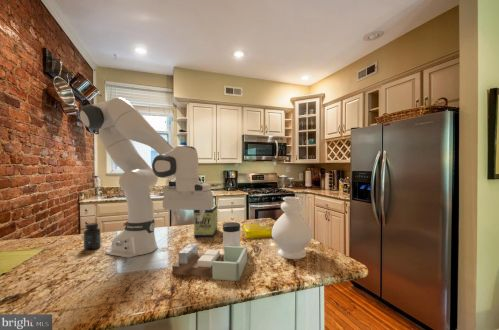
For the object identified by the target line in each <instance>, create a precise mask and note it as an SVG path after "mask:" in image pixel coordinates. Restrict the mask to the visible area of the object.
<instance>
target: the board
mask: <svg viewBox="0 0 499 330" xmlns="http://www.w3.org/2000/svg"><path fill="white" fill-rule="evenodd" d="M204 253H205V252H204ZM204 253H203V252H202V253H201V252H200V253H199V252H198V255H197V256H196V257H195V258H194V259H193V260H192V261H191V262H190V263H189V264H188V265H179V260H177V261H176V262H175V263H174V264H173V265H172V269H171V270H172V271H171V272H172V275H180V276H195V277H206V278H207V277H208V278H213V273H212V266H211V267H199V266H198V260H199V258H200V257H201V256H202V255H204ZM215 261H222V262H223V261H224V253H221V254H220V255H219V257H218V258H217V260H215Z"/></svg>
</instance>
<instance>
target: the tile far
mask: <svg viewBox="0 0 499 330" xmlns="http://www.w3.org/2000/svg"><path fill="white" fill-rule="evenodd" d="M220 253H221V250H220V249H209V248H208V249H207V250H206V251H205V252H204V255H211V256H215V260H217V258H218V257H219V255H220Z"/></svg>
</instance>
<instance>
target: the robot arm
mask: <svg viewBox="0 0 499 330" xmlns="http://www.w3.org/2000/svg"><path fill="white" fill-rule="evenodd" d="M79 117H80V118H79V119H80V120H81V122H82V124H83V125H84V126H85V127H86V128H88V129H89V130H93V131H94V130H98V135H99V138H100V140H101V143H102V145H103V147H104V148H105V150H106V152H107V154H108V155H109V157H110V158H111V160H112V161H113V163H114V164H115V166H116V167H118V168H119V169H120V170H122V171H123V173H122V174H121V175H119V176H120V177H119V179H118V184H119V187H120V188H121V190H122V191H123V193H124V197H125V200H126V205H127V221H126V222H124V223H123V224H122V227H124V226H125V227H124V229H123V230H122V231H121V232H119V233H118V234H117V235H116V236H115V237H113V239H112V242H111V247H109V248H107V249H106V250H105V255H112V256H117V257H123V258H134V257H136V256H141V255H146V254H150V253H152V252H154V251H156V250H158V244H157V240H156V235H155V223H156V222H155V218H154V202H153V200H152V197H151V193H150V190H151V189H153V188H154V187H155V186H156V184H157V183H158V180H159V178H162V179H169V178H170V179H171V178H175V185H173V186H172V185H171V186H170V185H168V186H166V187H164V188H163V191H162V192H163V198H162V208H163V209H164V211H165V210H169V211H171V213H172V216H173V217H174V221H175V222H179V221H181V215H178V213H177V212H178V211H181V210H182V211H187V210H188V211H194V210H200V213H201V214H200V216H198V217H197V221H202V216H203V214H204V213H205V210H210V209H212V208H213V206H214V205H215V204H214V203H215V202H214V195H213V192H212V191H211V188H212V186H211V184H210V183H207V182H203V181H200V177H199V174H198V170H199V155H198V150H197V149H196V148H195V147H194V146H190V145H184V144H178V145H176V146H175V147H173V146H172V145H171V144H170V143H169V142H168V141H167V140H166V139H165V138H164V137H162V135H161V134H160V133H159V132H157V130H156V129H155V128H154V127H153V126H152V125H151V124H150V123H149V122H148V121H147V119H146V118H145V117H144V116H143V115H142V114H141V113H140V112H139V110H138V109H137V108H136V107H135V106H134V105H133V104H132V102H130V101H129V100H126V98H122V97H113V98H111V99H109V100H105V101H101V102H96V103H92V104H89V103H88V104H86V105H84V106H82V107H81V108H80V110H79ZM132 142H136V143H140V144H141V145H142V144H144V145H145V146H148V147H150V148H151V149H153V150H154V151H155V152H156V153H157V154H158V155H156V156H155V157H154V158H153V160H152V161H151V167H150V165H149V164H148V162H146V161H145V159H144V158H143V157H142V156H141V155H140V153H139V152H138V150H137V149H136V147H135V145H134V144H133V143H132Z"/></svg>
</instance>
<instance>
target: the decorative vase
mask: <svg viewBox="0 0 499 330" xmlns="http://www.w3.org/2000/svg"><path fill="white" fill-rule="evenodd" d="M282 200H283V202H282V203H281V204H280V210H282V211H283V213H282V215H280V216H279V217H278V219H277V220H275V222H274V224H273V226H272V227H271V228H272V237H271V238H272V239H273V241H274V243H275V244H276V245H277V246H278V247H279V249H278V250H277V255H278V256H280V257H281V258H283V259H288V260H300V259H304V258H306V256H307V252H306V250H305V249H306V248H307V247H308V245H309V244H310V242H311V241H312V238H313V231H312V227H311V225H310V224H309V222H307V220H306V219H305V218H304V217H303V215H301V214H300V211H302V209H303V206H302V203H301V202H299V201H301V200H300V197H298V196H284V197H282Z"/></svg>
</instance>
